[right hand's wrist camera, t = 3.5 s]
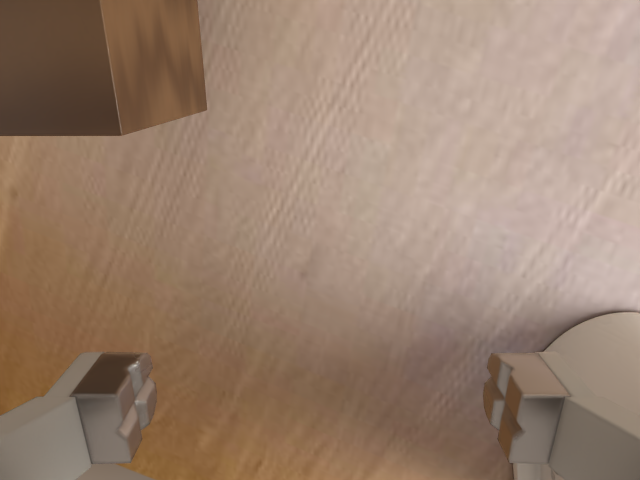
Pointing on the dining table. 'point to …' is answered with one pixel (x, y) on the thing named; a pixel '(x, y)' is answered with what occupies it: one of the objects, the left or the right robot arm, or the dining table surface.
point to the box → (98, 66)
